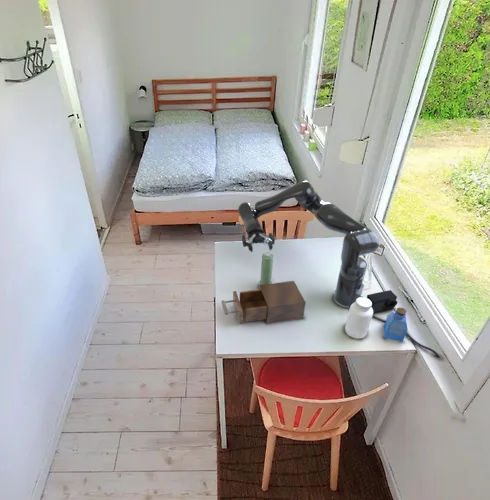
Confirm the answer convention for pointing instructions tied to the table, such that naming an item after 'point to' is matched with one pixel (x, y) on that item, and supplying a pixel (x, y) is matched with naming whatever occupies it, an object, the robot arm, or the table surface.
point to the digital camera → (382, 301)
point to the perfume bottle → (396, 325)
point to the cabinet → (283, 301)
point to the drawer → (248, 306)
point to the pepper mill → (266, 268)
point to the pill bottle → (359, 318)
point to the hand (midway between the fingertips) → (261, 249)
